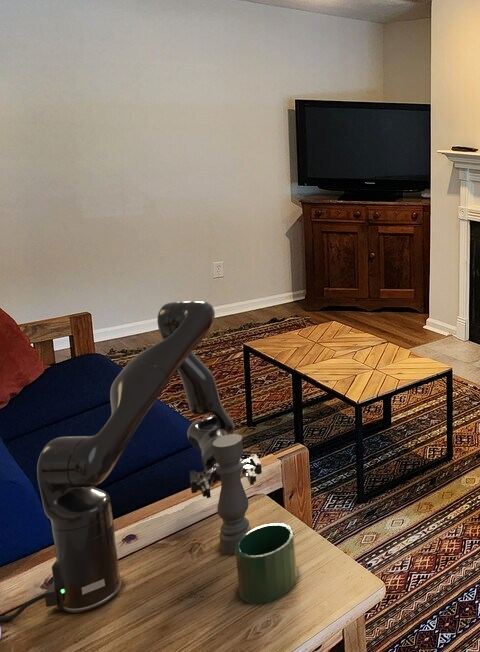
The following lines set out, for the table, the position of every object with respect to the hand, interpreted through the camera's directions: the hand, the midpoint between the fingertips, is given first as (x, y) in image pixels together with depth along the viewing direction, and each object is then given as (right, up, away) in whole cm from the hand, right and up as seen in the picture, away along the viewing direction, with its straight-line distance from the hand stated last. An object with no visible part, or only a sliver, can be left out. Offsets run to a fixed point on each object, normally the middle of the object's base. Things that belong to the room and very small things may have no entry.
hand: (230, 487), depth 136 cm
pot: (+13, -15, -10) cm, 23 cm away
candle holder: (0, -14, +1) cm, 14 cm away
